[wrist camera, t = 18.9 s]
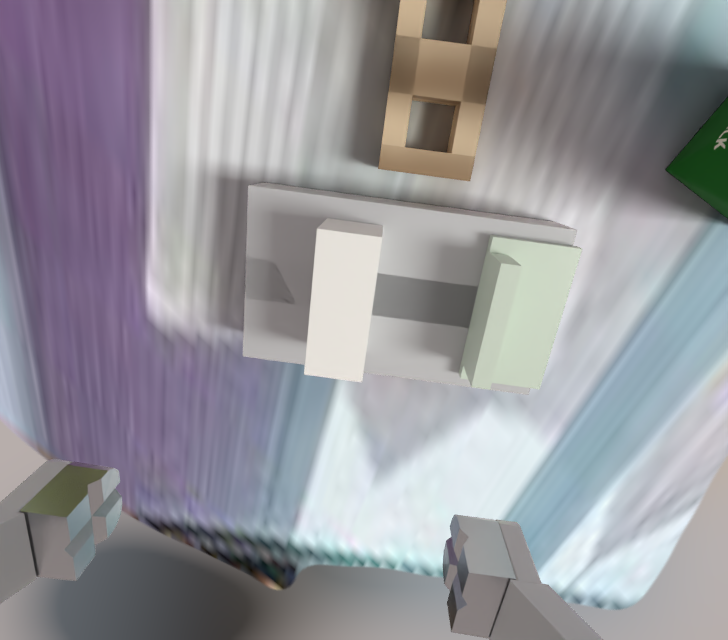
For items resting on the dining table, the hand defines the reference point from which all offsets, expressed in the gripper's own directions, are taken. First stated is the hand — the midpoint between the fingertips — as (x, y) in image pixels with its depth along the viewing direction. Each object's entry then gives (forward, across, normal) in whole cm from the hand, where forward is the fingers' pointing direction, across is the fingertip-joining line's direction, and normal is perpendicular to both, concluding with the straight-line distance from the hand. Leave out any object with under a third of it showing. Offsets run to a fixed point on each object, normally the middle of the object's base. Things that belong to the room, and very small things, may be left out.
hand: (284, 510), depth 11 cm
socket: (+24, -3, +1) cm, 24 cm away
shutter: (+20, -11, 0) cm, 23 cm away
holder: (+24, -4, -13) cm, 28 cm away
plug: (+22, 0, 0) cm, 22 cm away
